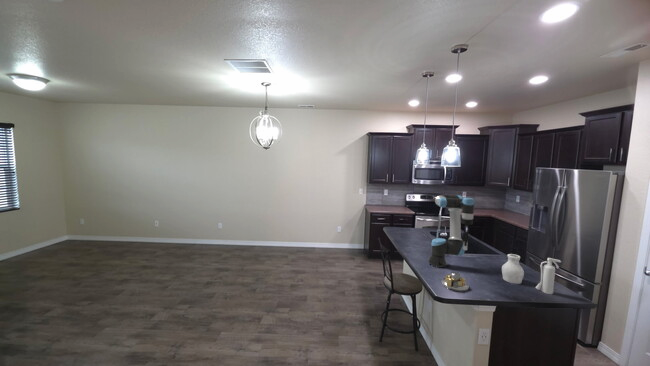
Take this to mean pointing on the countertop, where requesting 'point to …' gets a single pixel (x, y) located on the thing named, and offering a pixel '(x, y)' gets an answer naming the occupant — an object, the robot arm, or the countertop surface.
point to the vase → (513, 270)
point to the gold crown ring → (450, 280)
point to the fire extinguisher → (547, 276)
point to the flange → (455, 283)
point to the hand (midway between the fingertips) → (465, 249)
